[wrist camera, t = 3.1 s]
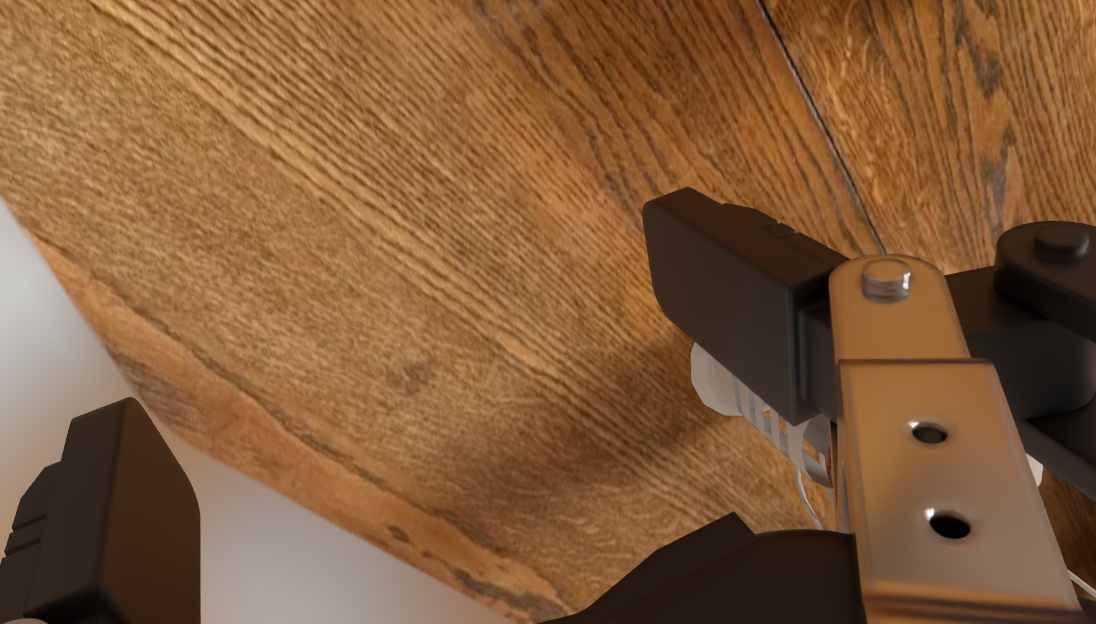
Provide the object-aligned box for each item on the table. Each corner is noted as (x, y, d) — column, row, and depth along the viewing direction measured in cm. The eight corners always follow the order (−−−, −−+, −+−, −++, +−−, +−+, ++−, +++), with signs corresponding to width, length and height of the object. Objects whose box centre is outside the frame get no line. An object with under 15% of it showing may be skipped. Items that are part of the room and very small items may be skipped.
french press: (856, 254, 42) (1479, 575, 21) (810, 428, 47) (1278, 825, 26) (704, 268, 38) (1273, 670, 18) (673, 454, 44) (1088, 937, 23)
